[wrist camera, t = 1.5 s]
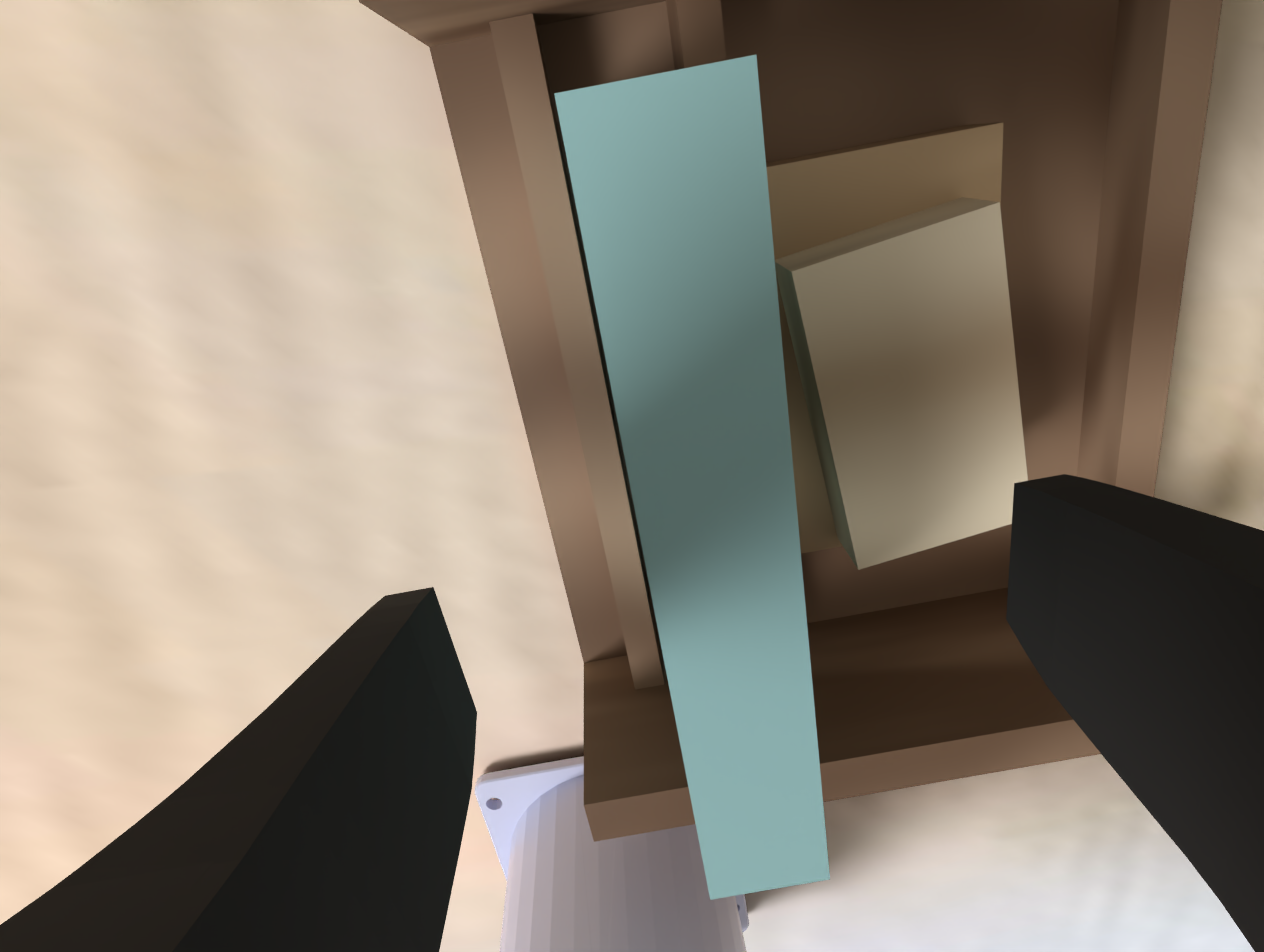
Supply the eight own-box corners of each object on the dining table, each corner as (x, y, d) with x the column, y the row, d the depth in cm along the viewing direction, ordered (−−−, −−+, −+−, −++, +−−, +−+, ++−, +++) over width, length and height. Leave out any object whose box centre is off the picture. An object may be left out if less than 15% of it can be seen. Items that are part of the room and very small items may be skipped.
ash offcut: (997, 489, 18) (1031, 517, 16) (837, 537, 18) (858, 570, 17) (961, 197, 15) (999, 201, 14) (772, 260, 15) (791, 271, 14)
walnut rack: (1078, 586, 22) (1238, 729, 17) (591, 673, 22) (594, 842, 17) (1149, -156, 15) (1479, -333, 9) (422, -14, 15) (328, -105, 10)
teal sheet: (731, 583, 20) (829, 879, 12) (659, 595, 20) (710, 899, 12) (665, 103, 15) (756, 54, 7) (570, 121, 15) (554, 93, 7)
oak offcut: (961, 493, 20) (989, 519, 18) (776, 527, 20) (790, 555, 18) (967, 124, 16) (1003, 122, 14) (738, 168, 16) (753, 170, 15)
